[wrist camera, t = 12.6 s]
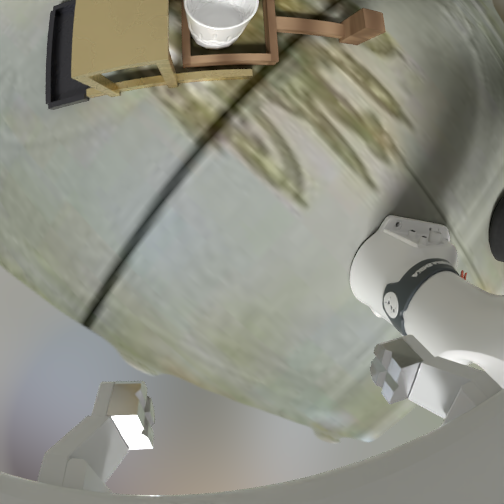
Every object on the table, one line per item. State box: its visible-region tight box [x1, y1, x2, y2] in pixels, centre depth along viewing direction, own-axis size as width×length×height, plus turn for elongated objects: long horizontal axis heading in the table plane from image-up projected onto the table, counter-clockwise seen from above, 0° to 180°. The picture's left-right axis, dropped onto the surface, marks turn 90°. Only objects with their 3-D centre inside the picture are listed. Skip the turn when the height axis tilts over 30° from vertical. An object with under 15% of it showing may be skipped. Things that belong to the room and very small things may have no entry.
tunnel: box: [46, 0, 253, 110], centre depth 25 cm, size 28×17×15 cm, turn 93°
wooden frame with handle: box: [182, 0, 385, 69], centre depth 30 cm, size 25×12×8 cm, turn 93°
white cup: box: [184, 0, 259, 50], centre depth 29 cm, size 8×8×10 cm
